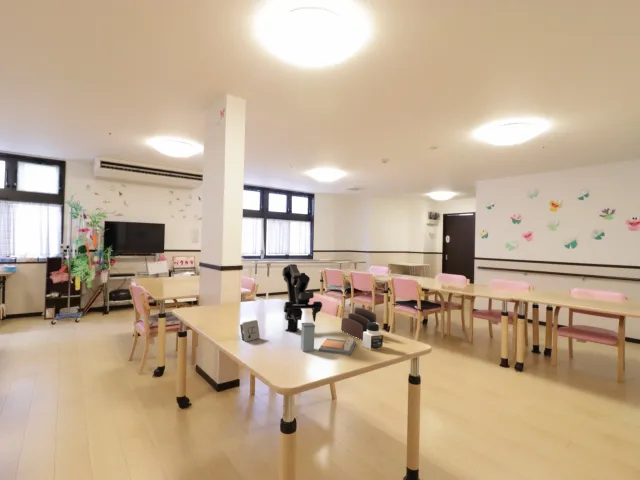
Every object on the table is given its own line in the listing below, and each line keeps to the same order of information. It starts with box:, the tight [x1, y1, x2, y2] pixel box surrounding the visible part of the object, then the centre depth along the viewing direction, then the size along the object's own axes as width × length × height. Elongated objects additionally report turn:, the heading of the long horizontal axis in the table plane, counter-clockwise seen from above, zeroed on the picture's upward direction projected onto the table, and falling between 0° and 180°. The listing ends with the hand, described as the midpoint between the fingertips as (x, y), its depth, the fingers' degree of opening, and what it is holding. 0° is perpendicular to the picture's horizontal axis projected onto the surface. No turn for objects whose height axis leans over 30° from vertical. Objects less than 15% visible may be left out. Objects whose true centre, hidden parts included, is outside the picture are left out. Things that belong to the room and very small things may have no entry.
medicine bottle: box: [362, 322, 384, 351], centre depth 162 cm, size 7×7×12 cm
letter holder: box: [340, 307, 377, 341], centre depth 184 cm, size 10×20×14 cm, turn 30°
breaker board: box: [318, 336, 357, 356], centre depth 160 cm, size 18×15×4 cm
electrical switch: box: [239, 319, 261, 342], centre depth 168 cm, size 9×5×9 cm, turn 141°
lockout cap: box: [300, 322, 316, 353], centre depth 155 cm, size 5×5×12 cm
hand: (305, 321), depth 160 cm, fingers open, 9 cm apart
